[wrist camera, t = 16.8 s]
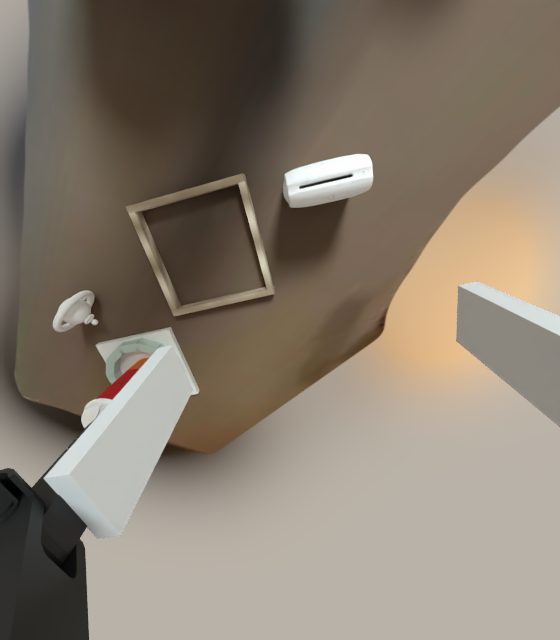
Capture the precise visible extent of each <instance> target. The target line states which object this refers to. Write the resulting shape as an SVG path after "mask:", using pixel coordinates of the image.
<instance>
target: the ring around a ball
mask: <svg viewBox="0 0 560 640" xmlns="http://www.w3.org/2000/svg"><path fill="white" fill-rule="evenodd" d="M86 298H87V301H84V300H85V299H86ZM94 298H95V297H94V294H93V292H91V291H88V290H85V291H81V292H79V293H77V294H75V295H74V296H72V297H71V298H69V299H67V300H65V301H64V302H63V303H62V304H61V305H60V307H59V309H58V312H57V314H56V316H55V318H54V320H53V328H54V329H55V330H56V331H58V332H64V331H67V330H69V329H71V328H72V327H74V326H75V325H77V324H79V323H82V322H84V321H85V322H84V323H85V324H89V323H90V322H91V323H92V324H93V325H96V324H98V320H96V319H93V318H94V314H91V307H92V305H93V303H94ZM82 299H83V300H82ZM90 314H91V315H90ZM62 321H65V322H67V323H66V324H65V325H62Z"/></svg>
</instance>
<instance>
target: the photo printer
mask: <svg viewBox="0 0 560 640" xmlns="http://www.w3.org/2000/svg"><path fill="white" fill-rule="evenodd" d="M372 182H373V170H372V162H371V159H370V157H369V156H368V155H366V154H355V155H349V156H343V157H338V158H334V159H329V160H325V161H321V162H317V163H313V164H310V165H306V166H303V167H299V168H296V169H294V170H291V171H289V172H287V173H286V174H285V175H284V184H283V195H284V198H285V200H286V201H287V202H288V203H289V206H290V207H291V208H302V207H308V206H314V205H319V204H324V203H329V202H333V201H338V200H342V199H346V198H350V197H353V196H356V195H359V194H361V193H364V192H366V191H368V190H369V189H370V188H371V186H372Z"/></svg>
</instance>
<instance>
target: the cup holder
mask: <svg viewBox="0 0 560 640" xmlns="http://www.w3.org/2000/svg"><path fill="white" fill-rule="evenodd" d="M170 345H173V347H174V349H175V351H176V354H177V356H178V358H179V360H180V362H181V364H182V366H183V369H184V371H185V373H186V375H187V377H188V379H189V382H190V384H191V386H192V388H193V391H192V393H191V395H194V394H198V393H199V391H200V390H199V388H198V386H197V384H196V381H195V379H194V377H193V375H192V372H191V370H190V368H189V366H188V364H187V361H186V359H185V357H184V355H183V353H182V350H181V348H180V346H179V344H178V342H177V339H176V337H175V335H174V333H173V331H172V328H171V327H169V328H164V329H159V330H155V331H150V332H146V333H141V334H137V335H132V336H127V337H123V338H118V339H114V340H109V341H104V342H100V343H98V344H96V345H95V346H96V347H97V349H98V351H99V352H100V354H101V356H102V357H103V359H104V361H105V362H106V376H107V378H108V380H109V381H110V383H111V385H112V384H113V383H114V382H115V381H116V380H117V379H118V378H119V377H120V376H122V375H123V374H124V373H125V372H126V371H127V370H128V369H129V368H130V367H132V366H133V365H134V364H135V363H136V362H137V361H139V360H140V359H143V358H150V357H151V356H152V354H153V353H154V352H155V351H156V350H157V349H158V348H161V347H166V346H170Z"/></svg>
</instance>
